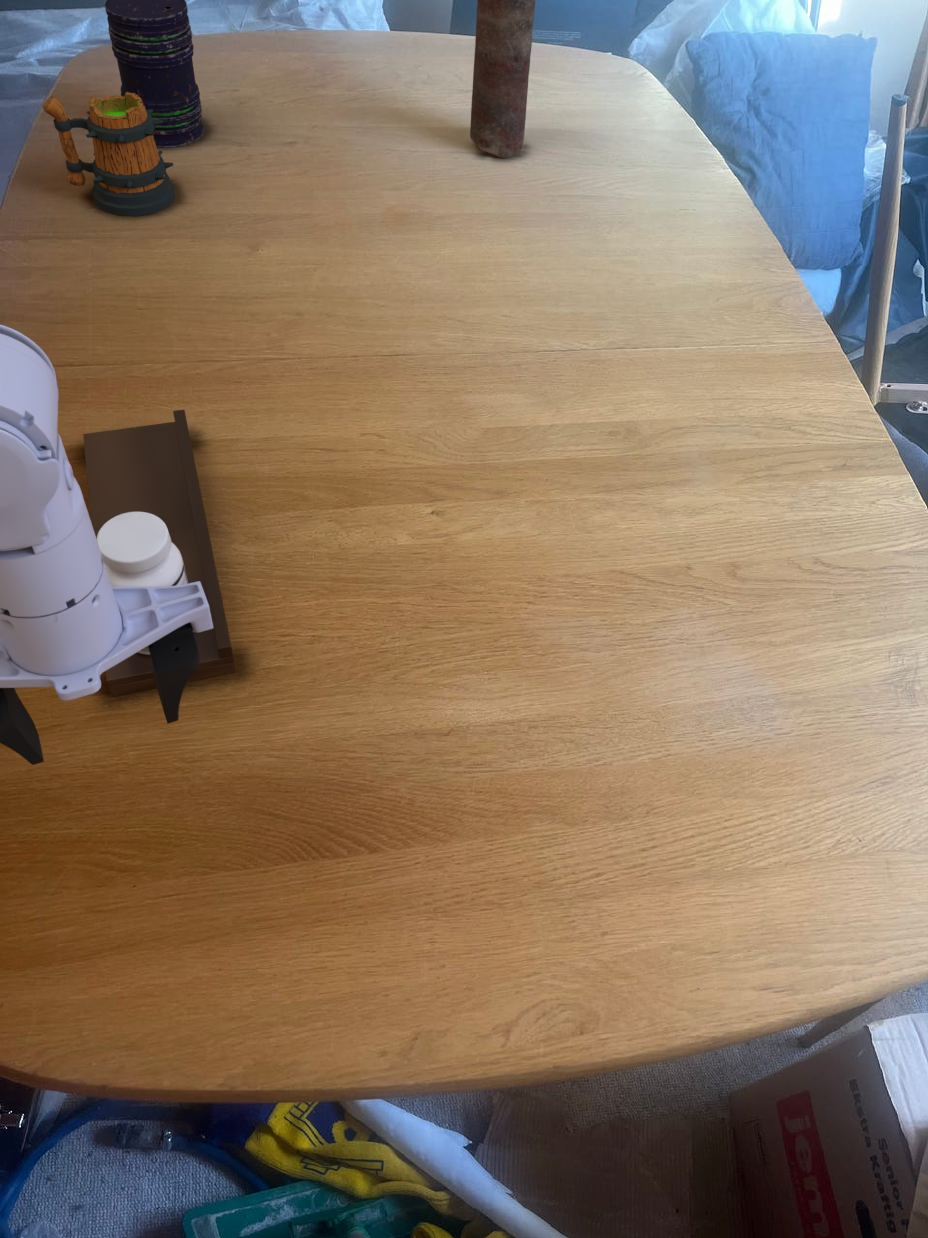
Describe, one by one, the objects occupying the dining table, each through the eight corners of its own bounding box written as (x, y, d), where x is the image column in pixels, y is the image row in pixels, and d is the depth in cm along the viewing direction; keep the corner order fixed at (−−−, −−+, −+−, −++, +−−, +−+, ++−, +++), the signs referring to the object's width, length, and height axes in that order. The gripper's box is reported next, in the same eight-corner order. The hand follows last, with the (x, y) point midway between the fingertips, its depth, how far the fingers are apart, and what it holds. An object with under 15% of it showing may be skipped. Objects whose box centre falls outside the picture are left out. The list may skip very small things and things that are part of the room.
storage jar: (114, 139, 125) (88, 11, 114) (147, 109, 131) (125, -16, 120) (187, 152, 124) (168, 24, 113) (216, 121, 130) (200, -4, 119)
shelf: (112, 697, 70) (102, 671, 68) (88, 450, 87) (79, 422, 84) (236, 672, 72) (231, 646, 70) (189, 436, 89) (184, 409, 87)
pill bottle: (112, 610, 73) (81, 516, 65) (187, 591, 74) (166, 497, 67) (127, 667, 70) (96, 575, 62) (205, 646, 71) (185, 553, 64)
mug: (176, 174, 120) (160, 75, 112) (180, 215, 114) (163, 114, 105) (67, 178, 118) (41, 78, 109) (64, 220, 112) (37, 117, 103)
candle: (459, 150, 130) (469, -20, 115) (479, 129, 134) (492, -37, 119) (511, 163, 128) (529, -7, 113) (530, 142, 133) (550, -24, 118)
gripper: (-120, 680, 41) (-20, 828, 52) (213, 591, 46) (243, 744, 56) (-130, 568, 45) (-35, 726, 56) (177, 496, 50) (212, 655, 60)
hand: (103, 729), depth 56 cm, fingers open, 7 cm apart
